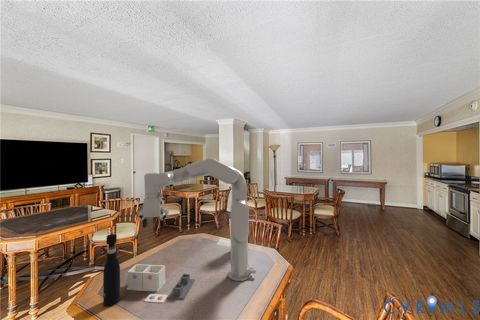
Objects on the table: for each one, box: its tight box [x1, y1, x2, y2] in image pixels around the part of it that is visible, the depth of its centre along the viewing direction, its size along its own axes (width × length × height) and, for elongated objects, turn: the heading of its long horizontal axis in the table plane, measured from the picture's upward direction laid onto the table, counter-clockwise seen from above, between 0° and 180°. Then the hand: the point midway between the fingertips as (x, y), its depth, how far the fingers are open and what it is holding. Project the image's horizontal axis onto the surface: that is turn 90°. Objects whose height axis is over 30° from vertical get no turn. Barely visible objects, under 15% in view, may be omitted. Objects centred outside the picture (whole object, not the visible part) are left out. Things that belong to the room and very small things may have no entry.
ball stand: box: [166, 273, 196, 300], centre depth 101 cm, size 8×15×4 cm, turn 174°
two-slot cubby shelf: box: [126, 263, 167, 293], centre depth 104 cm, size 16×8×9 cm, turn 84°
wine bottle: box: [102, 233, 121, 308], centre depth 92 cm, size 6×6×30 cm
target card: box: [143, 293, 169, 304], centre depth 94 cm, size 9×5×1 cm, turn 84°
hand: (153, 227), depth 111 cm, fingers open, 9 cm apart
